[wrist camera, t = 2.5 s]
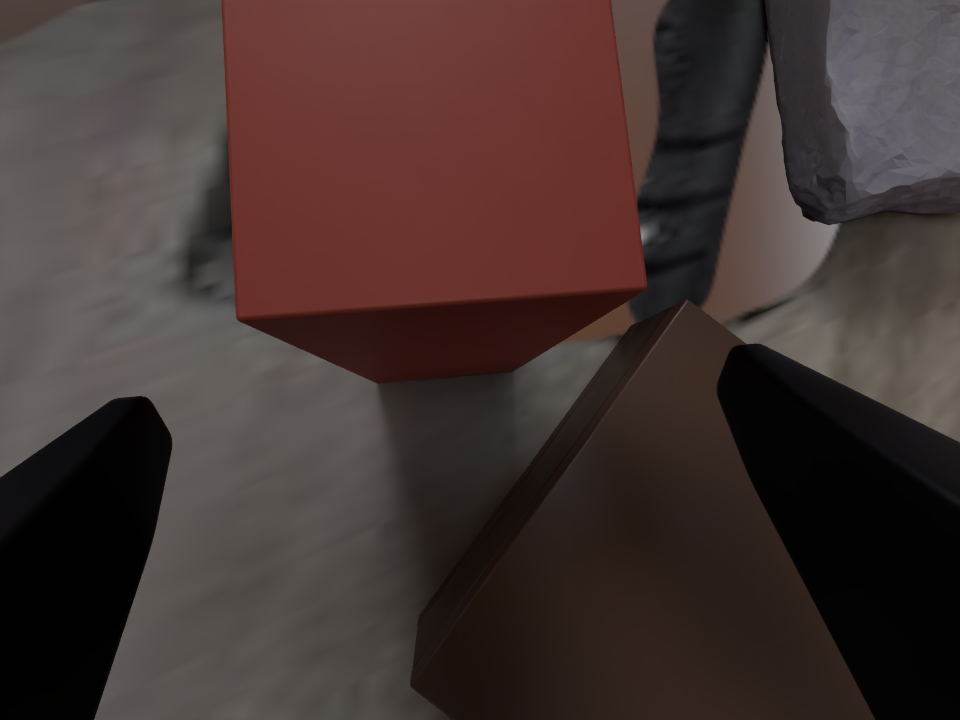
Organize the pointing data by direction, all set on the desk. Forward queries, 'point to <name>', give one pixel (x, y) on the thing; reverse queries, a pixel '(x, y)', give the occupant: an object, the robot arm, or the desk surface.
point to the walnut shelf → (634, 566)
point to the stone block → (868, 104)
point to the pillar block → (428, 179)
